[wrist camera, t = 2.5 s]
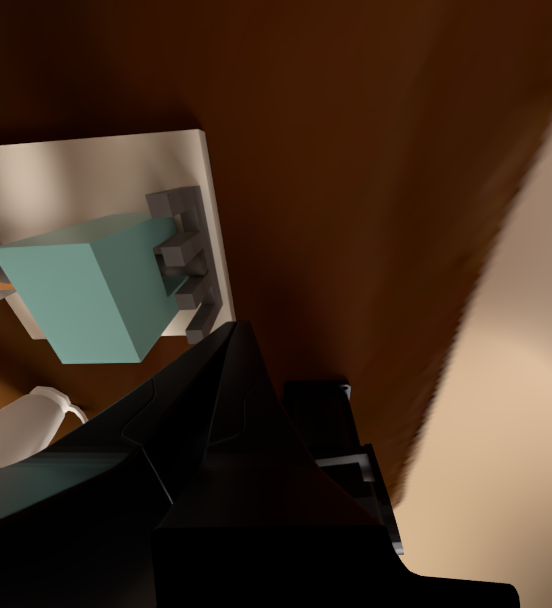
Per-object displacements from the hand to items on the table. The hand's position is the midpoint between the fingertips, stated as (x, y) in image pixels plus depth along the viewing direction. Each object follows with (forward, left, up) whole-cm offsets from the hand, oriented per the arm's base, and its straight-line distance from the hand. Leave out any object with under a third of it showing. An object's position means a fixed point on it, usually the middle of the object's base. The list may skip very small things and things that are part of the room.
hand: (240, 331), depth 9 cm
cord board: (+12, 0, -11) cm, 16 cm away
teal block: (+8, 0, -9) cm, 12 cm away
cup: (+24, +17, -11) cm, 31 cm away
